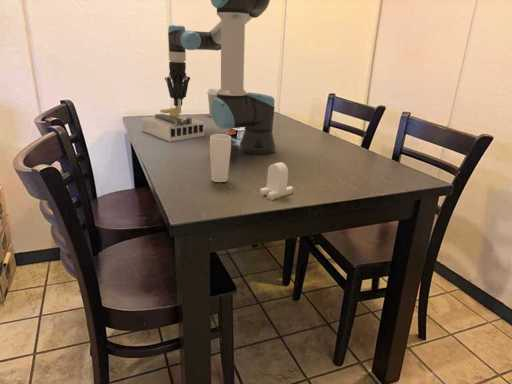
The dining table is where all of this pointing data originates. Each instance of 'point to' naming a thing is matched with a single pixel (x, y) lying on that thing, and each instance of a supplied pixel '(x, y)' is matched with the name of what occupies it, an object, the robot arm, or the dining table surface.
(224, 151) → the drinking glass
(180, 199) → the dining table surface
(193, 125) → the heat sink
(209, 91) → the coffee cup
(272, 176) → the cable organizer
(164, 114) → the strap
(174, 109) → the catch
